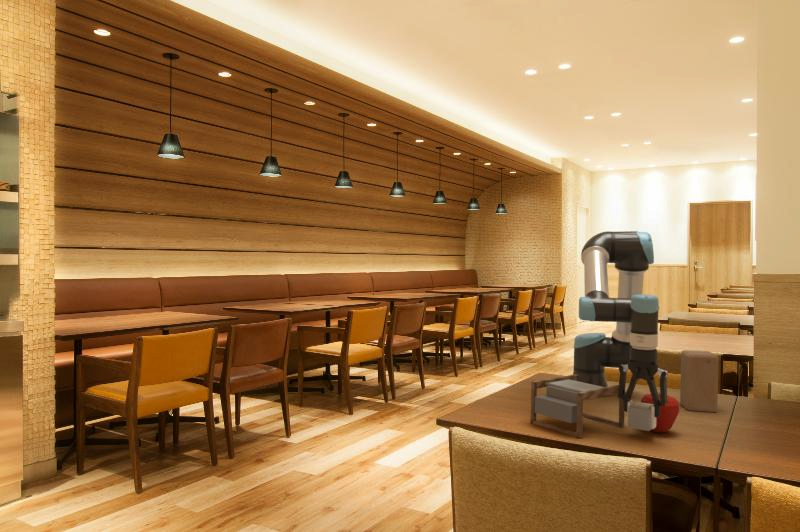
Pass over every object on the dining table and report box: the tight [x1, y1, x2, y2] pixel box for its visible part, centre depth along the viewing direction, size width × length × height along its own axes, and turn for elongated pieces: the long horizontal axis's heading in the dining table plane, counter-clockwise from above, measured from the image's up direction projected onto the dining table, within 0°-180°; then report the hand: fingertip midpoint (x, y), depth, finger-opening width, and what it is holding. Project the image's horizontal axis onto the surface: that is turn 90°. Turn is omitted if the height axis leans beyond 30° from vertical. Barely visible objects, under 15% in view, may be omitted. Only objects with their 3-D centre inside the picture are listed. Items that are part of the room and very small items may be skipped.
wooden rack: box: [530, 374, 626, 439], centre depth 184 cm, size 22×19×13 cm
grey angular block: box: [535, 379, 604, 424], centre depth 182 cm, size 17×16×9 cm
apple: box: [640, 391, 680, 433], centre depth 178 cm, size 11×11×12 cm
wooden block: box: [679, 349, 720, 413], centre depth 207 cm, size 10×10×20 cm
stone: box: [627, 401, 653, 432], centre depth 172 cm, size 6×6×7 cm
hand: (641, 425), depth 172 cm, fingers closed on stone, 6 cm apart
